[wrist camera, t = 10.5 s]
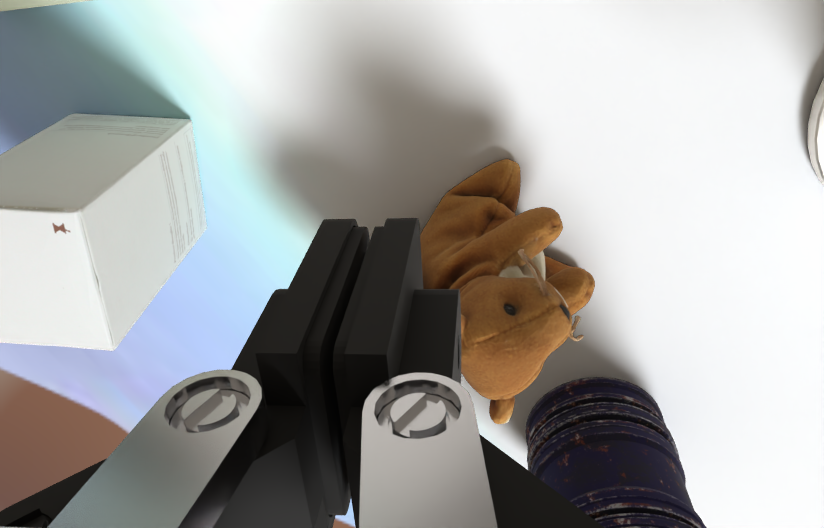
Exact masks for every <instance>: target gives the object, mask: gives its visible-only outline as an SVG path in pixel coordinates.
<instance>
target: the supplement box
mask: <svg viewBox="0 0 824 528" xmlns="http://www.w3.org/2000/svg"><path fill="white" fill-rule="evenodd" d="M206 229H207V223H206V215H205V207H204V201H203V194H202V187H201V180H200V174H199V167H198V160H197V153H196V146H195V140H194V133H193V126H192V121H191V120H190V119H175V118H156V117H136V116H118V115H95V114H76V113H74V114H70V115H68V116H66V117H65V118H63V119H62V120H60V121H58V122H57V123H55V124H53V125H51V126H49V127H48V128H46V129H44V130H42V131H41V132H39V133H37V134H35V135H34V136H32V137H30V138H29V139H27V140H25V141H23V142H22V143H20V144H18V145H16V146H15V147H13V148H11V149H10V150H8V151H6V152H4V153H3V154H1V155H0V343H15V344H30V345H47V346H63V347H74V348H85V349H97V350H108V351H114V350H115V349H116V348H117V346H118V345H119V344H120V342H121V341H122V340H123V338H124V337H125V336H126V334H127V333H128V332H129V330H130V329H131V328H132V326H133V325H134V324H135V322H136V321H137V320H138V318H139V317H140V316H141V315H142V313H143V312H144V311H145V309H146V308H147V307H148V305H149V304H150V303H151V301H152V300H153V299H154V297H155V296H156V295H157V293H158V292H159V291H160V289H161V288H162V287H163V286H164V284H165V283H166V282H167V280H168V279H169V278H170V276H171V275H172V274H173V272H174V271H175V270H176V268H177V267H178V266H179V264H180V263H181V262H182V260H183V259H184V258H185V256H186V255H187V254H188V252H189V251H190V250H191V249H192V247H193V246H194V245H195V243H196V242H197V241H198V239H199V238H200V237H201V235H202V234H203V233H204V232H205V230H206Z"/></svg>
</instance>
